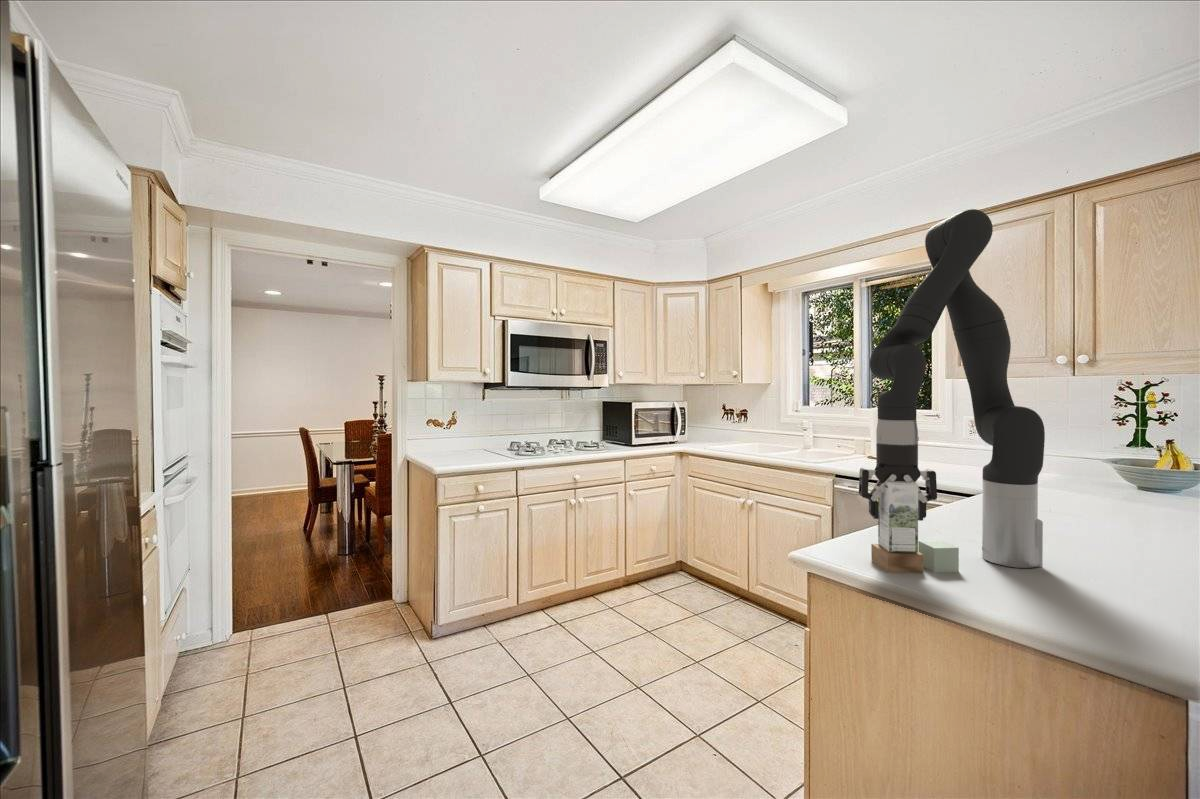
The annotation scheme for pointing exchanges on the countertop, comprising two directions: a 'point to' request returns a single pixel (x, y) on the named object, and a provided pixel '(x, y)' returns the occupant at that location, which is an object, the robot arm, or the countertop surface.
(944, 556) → the grey-green cube
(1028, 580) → the countertop surface
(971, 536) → the countertop surface
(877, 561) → the walnut block
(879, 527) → the syrup box
